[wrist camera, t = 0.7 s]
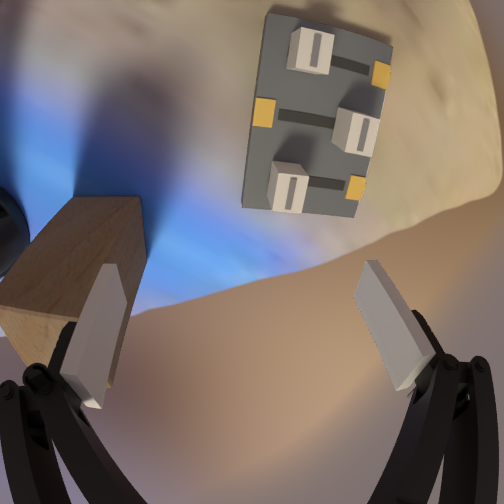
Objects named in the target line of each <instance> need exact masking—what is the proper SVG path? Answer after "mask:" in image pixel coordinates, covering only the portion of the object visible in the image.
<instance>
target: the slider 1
mask: <svg viewBox="0 0 504 504" xmlns="http://www.w3.org/2000/svg"><path fill="white" fill-rule="evenodd" d="M308 181H309V175H308V174H307V173H306V172H305V170H304V169H303V168H302V166H301V165H300V164H296V163H288V162H279V161H272V166H271V172H270V179H269V185H268V191H267V197H268V200H269V203H270V206H271V209H272V211H276V212H288V213H299V214H301V213H302V208H303V204H304V199H305V195H306V190H307V185H308Z"/></svg>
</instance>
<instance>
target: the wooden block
mask: <svg viewBox="0 0 504 504" xmlns="http://www.w3.org/2000/svg"><path fill="white" fill-rule="evenodd" d="M146 263H147V255H146V247H145V237H144V227H143V216H142V203H141V198H140V197H138V196H89V197H73V198H71V199H70V200H69V201H68V202H67V203H66V204H65V205H64V206H63V207H62V208H61V209H60V210H59V212H58V213H57V214H56V215H55V216H54V217H53V218H52V219H51V220H50V221H49V222H48V223H47V225H46V226H45V227H44V228H43V229H42V230H41V231H40V233H39V234H38V235H37V236H36V237H35V238H34V240H33V241H32V242H31V243H30V244H29V246H28V247H27V248H26V249H25V250H24V252H23V253H22V254H21V255H20V257H19V258H18V259H17V261H16V262H15V263H14V265H13V266H12V267H11V268H10V270H9V271H8V273H7V274H6V275H5V277H4V278H3V279H2V281H1V282H0V326H1V328H2V329H3V331H4V332H5V334H6V336H7V337H8V339H9V340H10V342H11V344H12V345H13V347H14V348H15V350H16V351H17V352H18V354H19V355H20V357H21V358H22V360H23V361H24V362H25V364H26V365H27V367H28V366H30V365H31V364H33V363H42V364H44V365H46V367H48V364H49V362H50V359H51V356H52V353H53V351H54V348H55V347H56V343H57V340H58V338H59V335H60V333H61V330H62V328H63V327H64V326H65V325H66V324H67V323H68V322H69V321H73V322H78V320H79V317H80V315H81V312H82V310H83V307H84V305H85V303H86V300H87V298H88V296H89V293H90V291H91V289H92V286H93V284H94V282H95V280H96V278H97V275H98V273H99V271H100V269H101V267H102V265H103V264H116V265H117V268H118V272H119V276H120V280H121V283H122V287H123V290H124V294H125V297H126V300H127V306H126V309H125V313H124V316H123V320H122V323H121V327H120V331H119V335H118V338H117V342H116V346H115V350H114V354H113V359H112V363H111V367H110V372H109V376H108V381H107V385H106V388H111V387H112V385H113V381H114V376H115V371H116V368H117V363H118V359H119V355H120V351H121V347H122V343H123V339H124V336H125V332H126V328H127V324H128V321H129V318H130V314H131V311H132V307H133V304H134V301H135V297H136V294H137V291H138V288H139V285H140V281H141V278H142V275H143V272H144V269H145V266H146Z"/></svg>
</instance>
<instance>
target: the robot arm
mask: <svg viewBox="0 0 504 504" xmlns="http://www.w3.org/2000/svg"><path fill="white" fill-rule="evenodd" d="M29 244H30V239H29V231H28V227H27V224H26V221H25V218H24V216H23V214H22V212H21V210H20V208H19V206H18V205H17V203H16V202H15V200H14V199H13V198H12V197H11V196H10V194H9V193H7V192H6V191H5V190H4V189H3V188H1V187H0V279H1V278H3V277H4V276H5V275H6V274H7V273H8V271H9V270H10V268H11V267H12V266H13V265H14V263H15V262H16V261H17V259H18V258H19V257H20V255H21V254H22V253H23V252H24V250H25V249H26V248H27V247H28V246H29ZM353 298H354V300H355V302H356V304H357V306H358V308H359V310H360V312H361V314H362V316H363V318H364V320H365V323H366V325H367V327H368V329H369V331H370V333H371V335H372V337H373V340H374V342H375V344H376V346H377V348H378V350H379V353H380V355H381V357H382V359H383V361H384V364H385V366H386V368H387V371H388V373H389V375H390V378H391V380H392V382H393V385H394V387H395V389H396V391H398V390H401V389H405V388H408V387H409V386H410V385H411V384H412V383H413V381H415V383H416V385H417V386H416V387H415V388H414V389H413V390H412V391H411V392H410V394H409V395H408V396H407V398H409V397H410V396H411V395H412V397H411V401H410V404H409V407H408V410H407V413H406V416H405V419H404V422H403V425H402V427H401V430H400V433H399V436H398V438H397V441H396V443H395V446H394V448H393V451H392V453H391V456H390V458H389V460H388V462H387V465H386V467H385V469H384V471H383V473H382V476H381V478H380V480H379V482H378V484H377V486H376V488H375V490H374V492H373V494H372V496H371V498H370V500H369V501H368V503H367V504H427V502H428V499H429V497H430V494H431V492H432V489H433V486H434V483H435V480H436V478H437V474H438V471H439V468H440V465H441V462H442V459H443V455H444V463H443V464H444V465H443V474H442V483H441V490H440V497H439V503H438V504H496V503H497V491H498V476H499V440H498V423H497V411H496V402H495V395H494V387H493V382H492V375H491V370H490V366H489V364H488V362H487V360H486V359H485V358H483V357H481V356H475V357H474V358H473V359H472V360H471V361H470V362H459V361H458V360H457V359H456V358H455V357H454V356H452V355H451V354H445V352H444V351H443V349H442V347H441V346H440V344H439V342H438V340H437V339H436V337H435V335H434V334H433V332H431V329H430V327H429V325H427V322H426V320H425V319H424V317H423V316H422V315H421V314H420V313H419V312H417V311H416V310H410V308H409V307H408V305H407V303H406V302H405V300H404V299H403V297H402V296H401V294H400V292H399V291H398V289H397V288H396V286H395V285H394V283H393V282H392V280H391V279H390V277H389V276H388V274H387V273H386V271H385V270H384V269H383V267H382V266H381V264H380V263H379V261H378V260H366V262H365V265H364V268H363V271H362V274H361V277H360V280H359V283H358V285H357V288H356V291H355V294H354V297H353ZM126 306H127V300H126V297H125V294H124V290H123V287H122V283H121V280H120V276H119V272H118V268H117V265H116V264H103V265H102V267H101V269H100V271H99V273H98V275H97V278H96V280H95V282H94V284H93V286H92V289H91V291H90V293H89V296H88V298H87V300H86V303H85V305H84V307H83V310H82V312H81V315H80V317H79V320H78V322H73V321H69V322H68V323H67V324H66V325H65V326H64V327H63V328H62V330H61V333H60V335H59V338H58V340H57V343H56V347H55V348H54V351H53V353H52V356H51V359H50V362H49V364H48V367H46V365H44V364H42V363H33V364H31V365H30V366H28V367H27V368H26V370H25V371H24V374H23V377H22V378H23V384H24V385H25V386H18V385H17V384H16V383H15V382H14V381H12V380H6V381H5V382H3V383H2V384H1V385H0V440H1V447H2V453H3V459H4V464H5V469H6V474H7V478H8V483H9V487H10V491H11V495H12V498H13V502H14V504H71V501H70V498H69V496H68V493H67V490H66V487H65V484H64V482H63V478H62V475H61V472H60V469H59V465H58V462H57V458H56V455H55V451H54V447H53V443H52V440H53V442H54V444H55V446H56V448H57V450H58V452H59V454H60V456H61V458H62V460H63V462H64V463H65V465H66V467H67V469H68V471H69V472H70V474H71V476H72V477H73V479H74V481H75V482H76V484H77V486H78V487H79V489H80V490H81V492H82V493H83V495H84V497H85V498H86V500H87V501H88V503H89V504H147V503H146V501H145V500H144V499H143V498H142V497H141V496H140V494H139V493H138V492H137V491H136V489H135V488H134V487H133V486H132V485H131V483H130V482H129V481H128V479H127V478H126V477H125V476H124V474H123V473H122V471H121V470H120V469H119V467H118V466H117V465H116V463H115V462H114V460H113V459H112V457H111V456H110V455H109V453H108V452H107V450H106V449H105V447H104V445H103V444H102V442H101V441H100V439H99V438H98V436H97V435H96V433H95V431H94V430H93V428H92V426H91V425H90V423H89V421H88V419H87V418H86V416H85V414H84V412H83V411H82V409H81V408H80V405H81V402H82V401H83V402H84V404H85V405H86V406H87V407H94V408H100V409H102V406H103V400H104V395H105V390H106V385H107V381H108V376H109V372H110V367H111V363H112V359H113V354H114V350H115V346H116V342H117V338H118V335H119V331H120V327H121V323H122V320H123V316H124V313H125V309H126ZM468 395H469V399H468Z"/></svg>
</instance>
